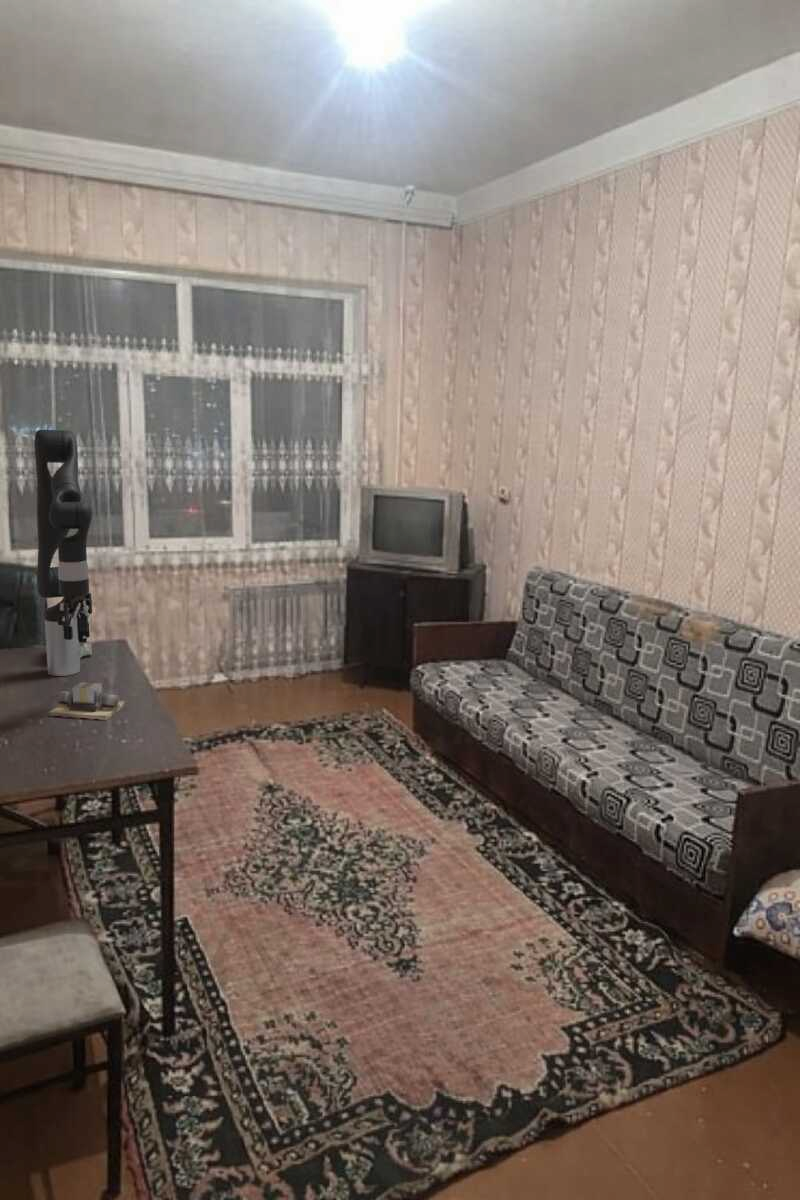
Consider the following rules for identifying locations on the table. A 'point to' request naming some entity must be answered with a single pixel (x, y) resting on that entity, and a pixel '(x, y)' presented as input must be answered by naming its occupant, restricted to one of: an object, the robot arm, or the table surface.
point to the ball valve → (84, 639)
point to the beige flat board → (87, 706)
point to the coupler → (87, 694)
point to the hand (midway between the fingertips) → (76, 635)
